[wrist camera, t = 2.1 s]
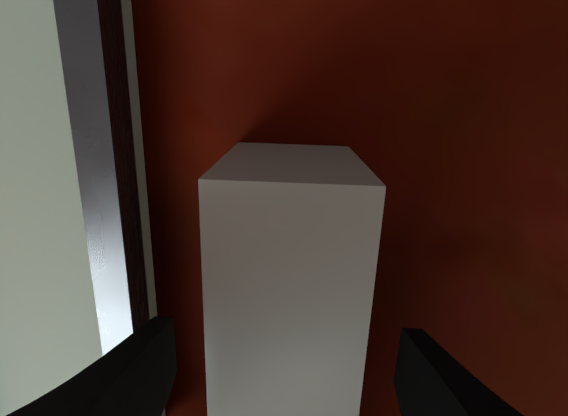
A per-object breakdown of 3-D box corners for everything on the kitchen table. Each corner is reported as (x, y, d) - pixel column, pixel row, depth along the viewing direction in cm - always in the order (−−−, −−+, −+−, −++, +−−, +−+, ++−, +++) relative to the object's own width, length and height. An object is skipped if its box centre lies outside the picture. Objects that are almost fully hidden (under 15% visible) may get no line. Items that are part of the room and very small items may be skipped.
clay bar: (326, 405, 17) (341, 561, 11) (240, 400, 17) (212, 554, 12) (348, 145, 14) (386, 186, 8) (239, 141, 14) (198, 178, 8)
